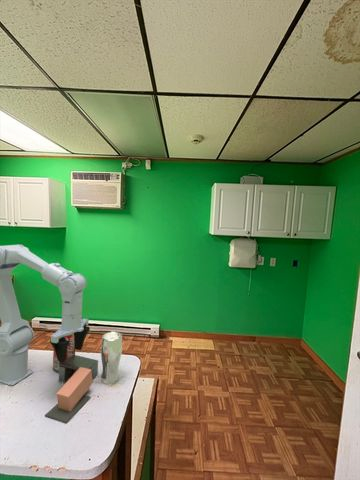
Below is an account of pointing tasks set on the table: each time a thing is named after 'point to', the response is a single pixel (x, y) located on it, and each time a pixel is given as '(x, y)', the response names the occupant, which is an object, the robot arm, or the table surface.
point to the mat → (64, 414)
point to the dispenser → (76, 367)
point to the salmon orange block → (74, 389)
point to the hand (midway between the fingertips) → (70, 354)
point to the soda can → (69, 352)
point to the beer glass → (111, 356)
